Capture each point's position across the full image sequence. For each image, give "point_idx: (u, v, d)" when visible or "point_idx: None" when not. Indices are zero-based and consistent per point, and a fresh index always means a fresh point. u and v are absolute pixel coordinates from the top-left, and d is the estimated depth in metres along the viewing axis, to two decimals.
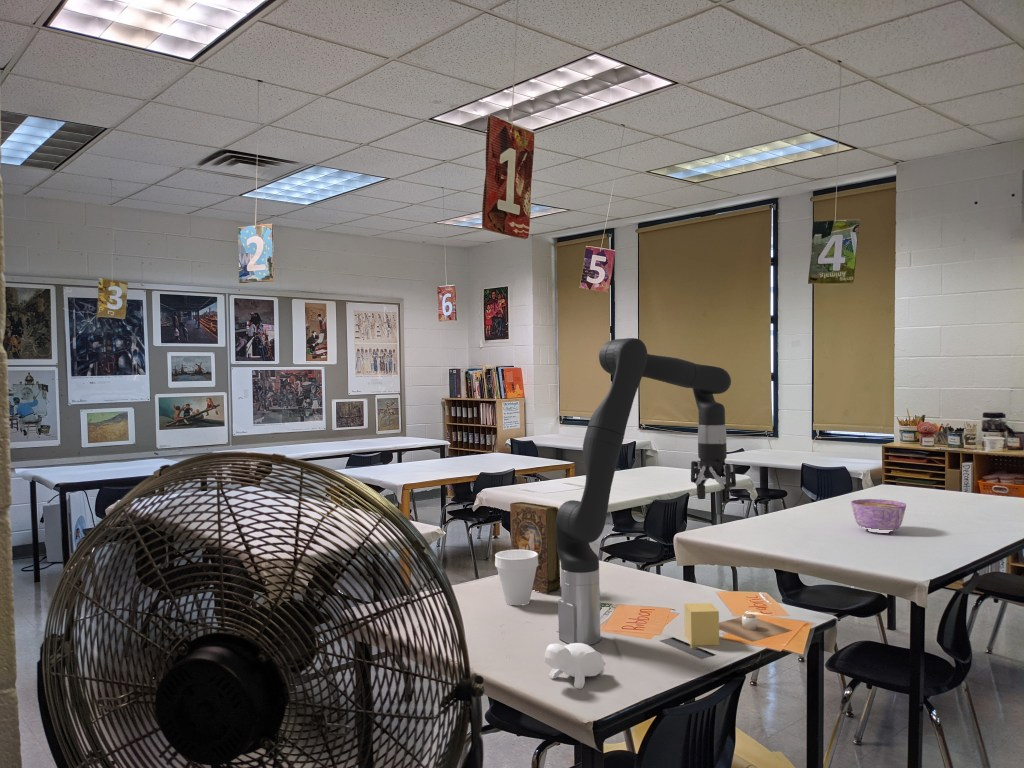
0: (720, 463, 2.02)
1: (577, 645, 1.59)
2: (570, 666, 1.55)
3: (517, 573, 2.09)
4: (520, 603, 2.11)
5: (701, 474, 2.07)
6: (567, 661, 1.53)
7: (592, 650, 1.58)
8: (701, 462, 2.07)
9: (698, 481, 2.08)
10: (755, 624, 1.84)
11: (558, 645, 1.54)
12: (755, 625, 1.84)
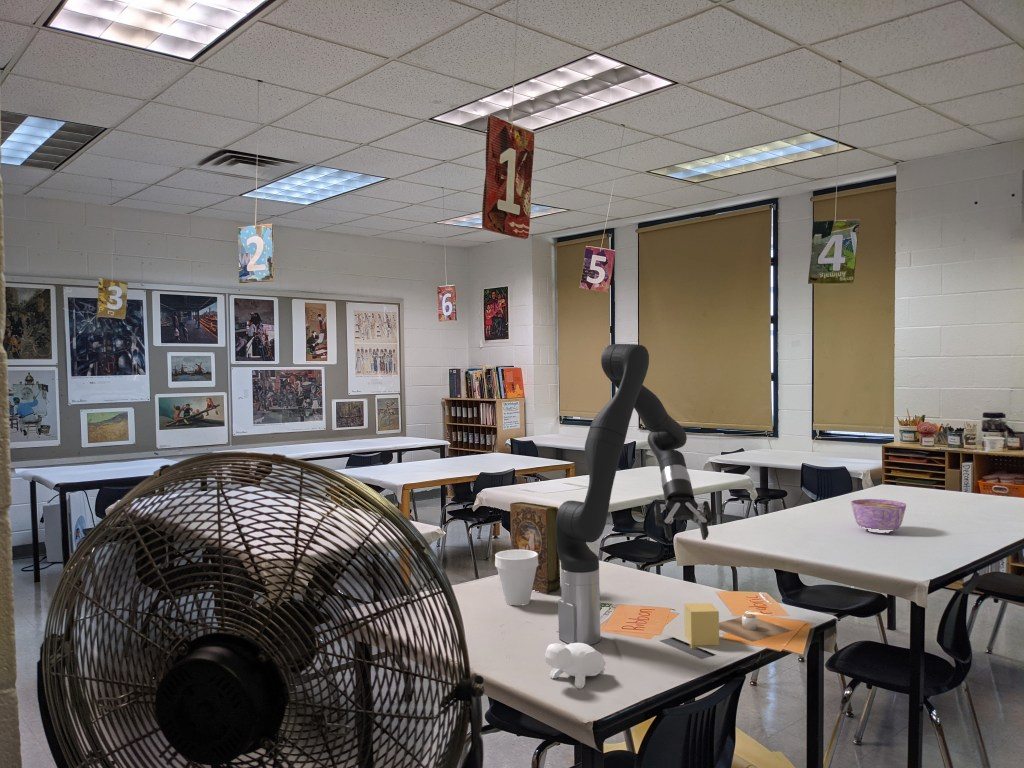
0: (695, 501, 1.95)
1: (577, 645, 1.60)
2: (570, 666, 1.56)
3: (517, 573, 2.09)
4: (520, 603, 2.11)
5: (674, 511, 1.92)
6: (567, 661, 1.53)
7: (592, 650, 1.58)
8: (669, 502, 1.95)
9: (668, 519, 1.91)
10: (755, 624, 1.84)
11: (558, 645, 1.54)
12: (755, 625, 1.84)
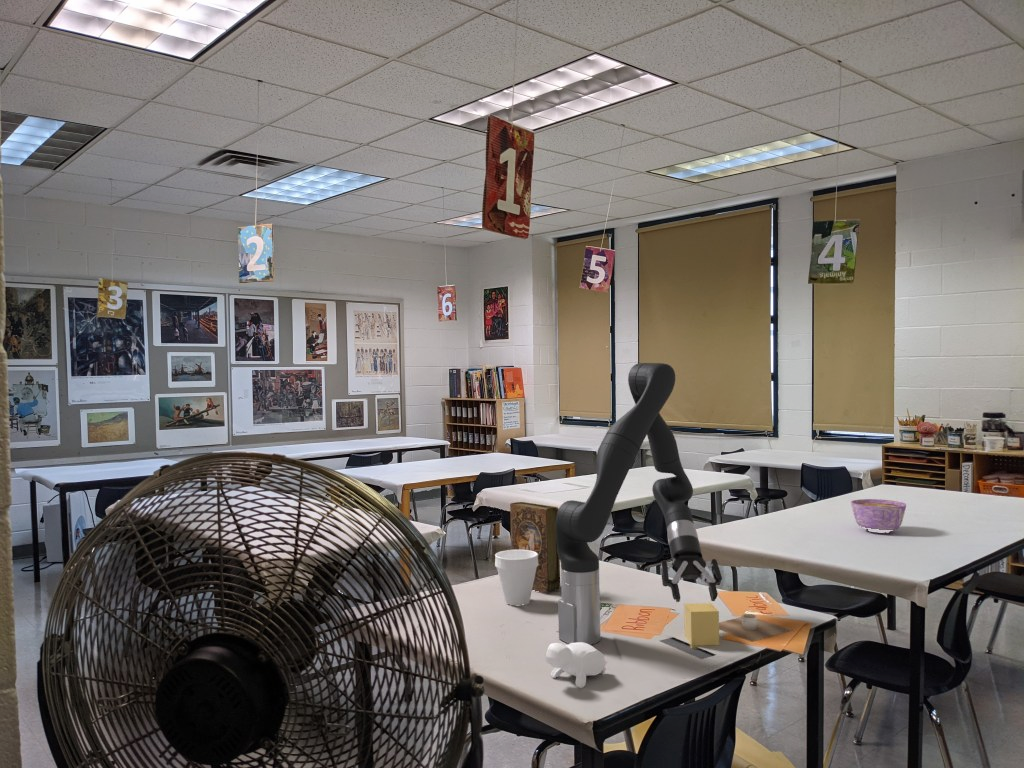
0: (703, 559, 1.88)
1: (578, 644, 1.60)
2: (571, 665, 1.56)
3: (517, 573, 2.09)
4: (520, 603, 2.11)
5: (681, 570, 1.85)
6: (568, 660, 1.54)
7: (593, 649, 1.58)
8: (676, 560, 1.88)
9: (676, 579, 1.84)
10: (755, 624, 1.84)
11: (559, 644, 1.55)
12: (755, 625, 1.84)
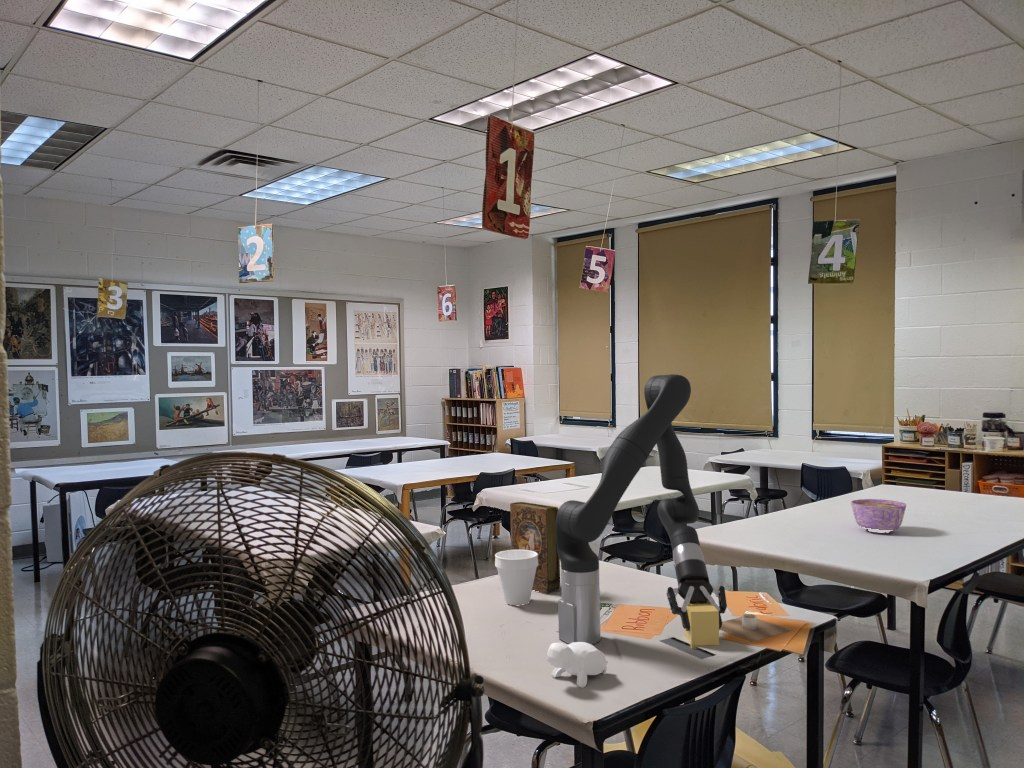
0: (710, 584, 1.82)
1: (579, 644, 1.60)
2: (572, 665, 1.56)
3: (517, 573, 2.09)
4: (520, 603, 2.11)
5: (689, 596, 1.79)
6: (570, 660, 1.54)
7: (594, 649, 1.59)
8: (682, 585, 1.82)
9: (685, 606, 1.78)
10: (755, 624, 1.84)
11: (561, 644, 1.55)
12: (755, 625, 1.84)
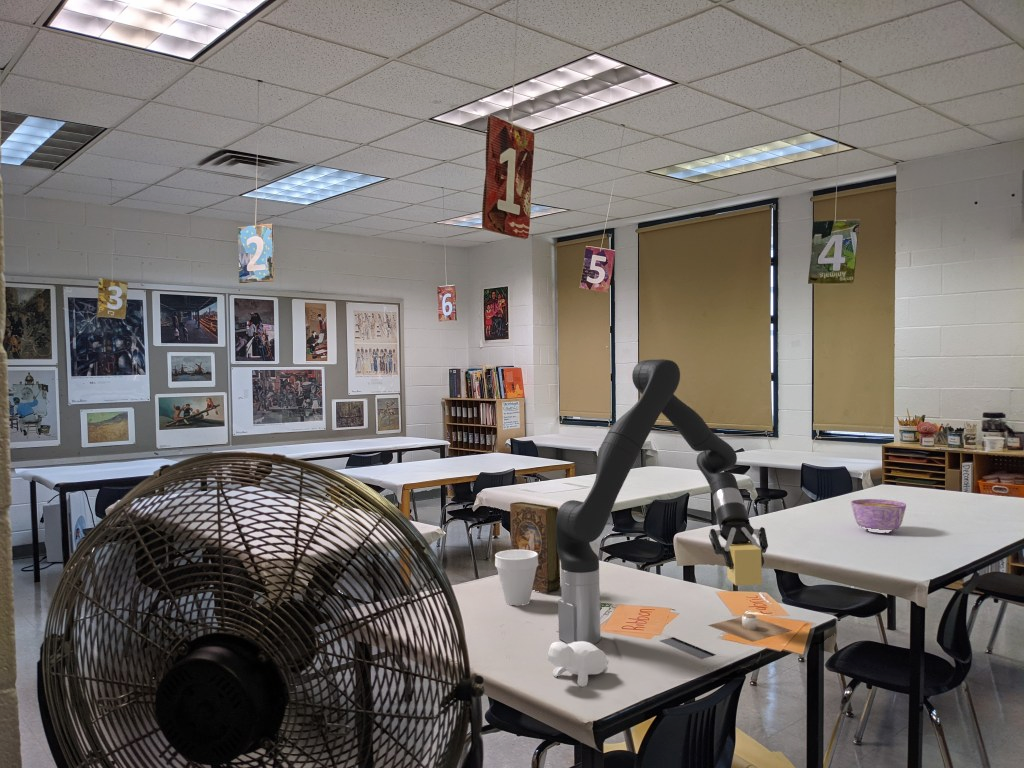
0: (751, 526, 1.90)
1: (580, 643, 1.60)
2: (573, 664, 1.56)
3: (517, 573, 2.09)
4: (520, 603, 2.11)
5: (731, 537, 1.87)
6: (570, 659, 1.54)
7: (595, 648, 1.59)
8: (724, 527, 1.89)
9: (728, 546, 1.85)
10: (755, 624, 1.84)
11: (561, 643, 1.55)
12: (755, 625, 1.84)
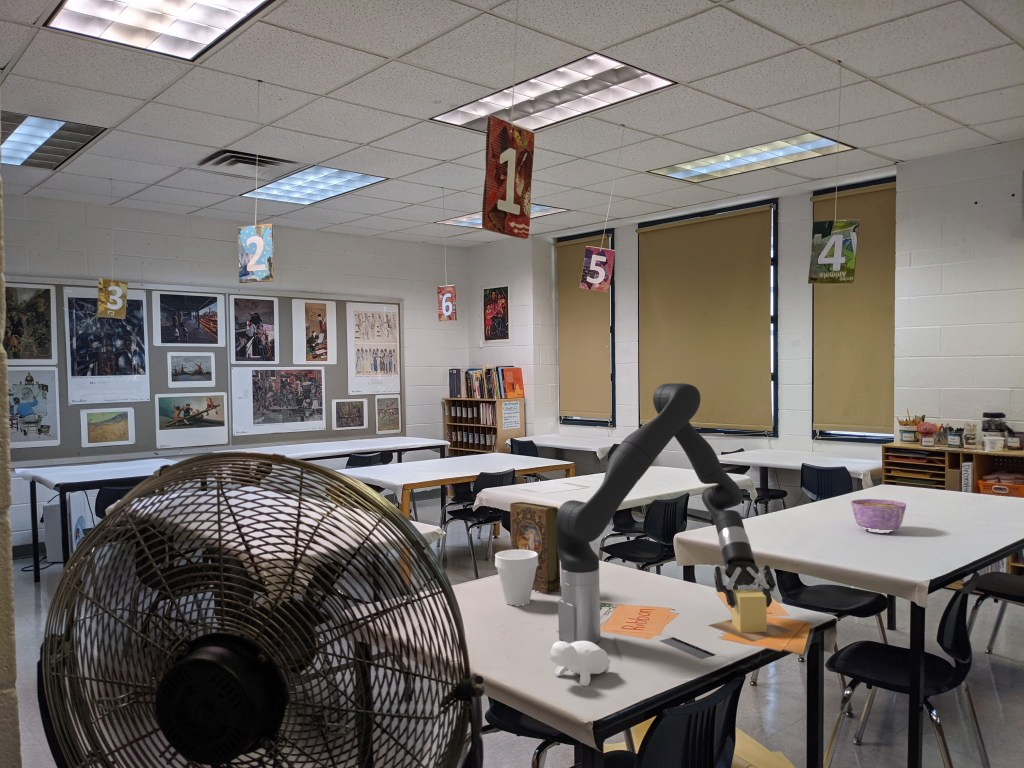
0: None
1: (582, 643, 1.61)
2: (576, 664, 1.57)
3: (517, 573, 2.09)
4: (520, 603, 2.11)
5: (735, 576, 1.88)
6: (573, 659, 1.55)
7: (597, 648, 1.59)
8: (730, 566, 1.90)
9: (730, 585, 1.86)
10: None
11: (564, 643, 1.56)
12: None
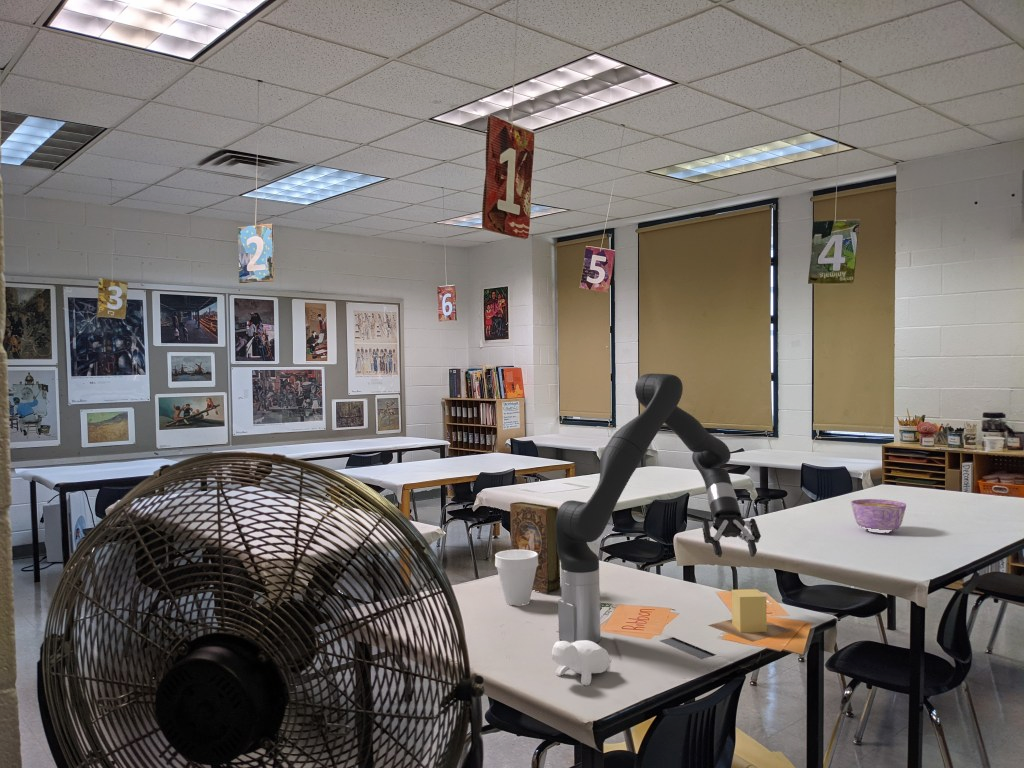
0: None
1: (583, 642, 1.61)
2: (577, 663, 1.57)
3: (517, 573, 2.09)
4: (520, 603, 2.11)
5: (722, 528, 1.97)
6: (574, 658, 1.55)
7: (598, 647, 1.60)
8: (717, 519, 2.00)
9: (717, 536, 1.96)
10: None
11: (565, 642, 1.56)
12: None
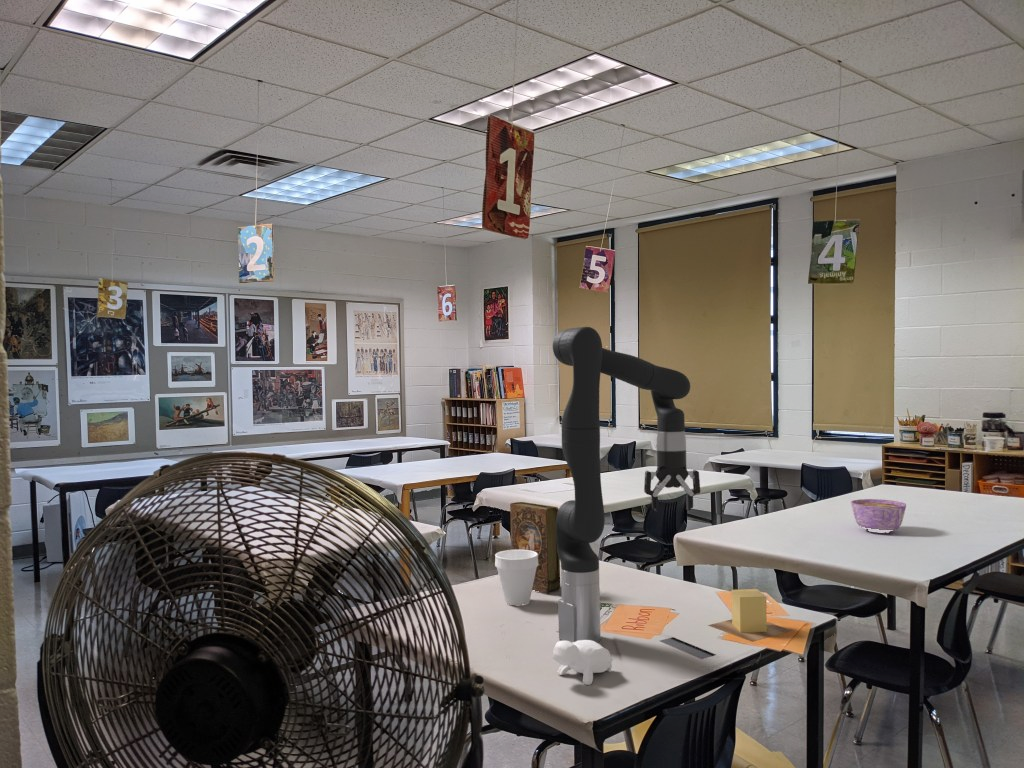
0: (686, 470, 1.97)
1: (585, 642, 1.61)
2: (578, 663, 1.57)
3: (517, 573, 2.09)
4: (520, 603, 2.11)
5: (663, 484, 1.96)
6: (576, 658, 1.55)
7: (600, 647, 1.60)
8: (661, 471, 1.97)
9: (657, 492, 1.97)
10: None
11: (567, 642, 1.56)
12: None
